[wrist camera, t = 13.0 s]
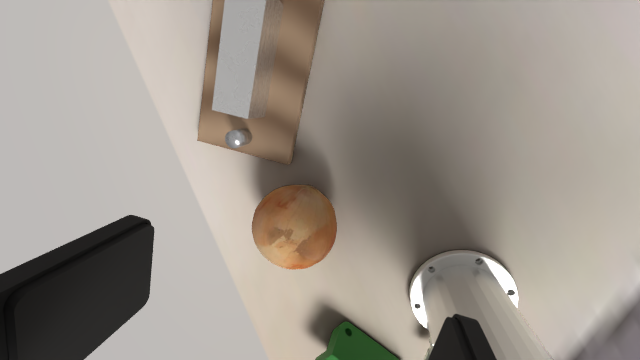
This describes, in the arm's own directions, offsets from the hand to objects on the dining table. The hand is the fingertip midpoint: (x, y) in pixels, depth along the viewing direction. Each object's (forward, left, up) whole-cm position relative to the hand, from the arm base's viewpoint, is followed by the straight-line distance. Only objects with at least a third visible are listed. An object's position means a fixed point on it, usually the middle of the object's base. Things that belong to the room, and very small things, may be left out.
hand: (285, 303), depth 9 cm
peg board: (+8, +13, -28) cm, 32 cm away
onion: (-9, +4, -28) cm, 30 cm away
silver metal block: (+8, +13, -27) cm, 31 cm away
